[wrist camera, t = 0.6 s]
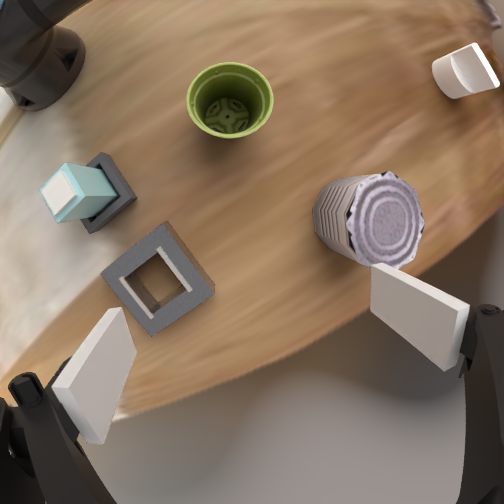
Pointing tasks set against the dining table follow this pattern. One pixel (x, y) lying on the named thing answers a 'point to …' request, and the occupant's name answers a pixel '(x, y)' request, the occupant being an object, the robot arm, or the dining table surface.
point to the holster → (121, 186)
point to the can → (370, 219)
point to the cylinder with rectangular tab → (464, 72)
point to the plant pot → (229, 100)
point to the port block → (135, 292)
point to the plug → (78, 192)
